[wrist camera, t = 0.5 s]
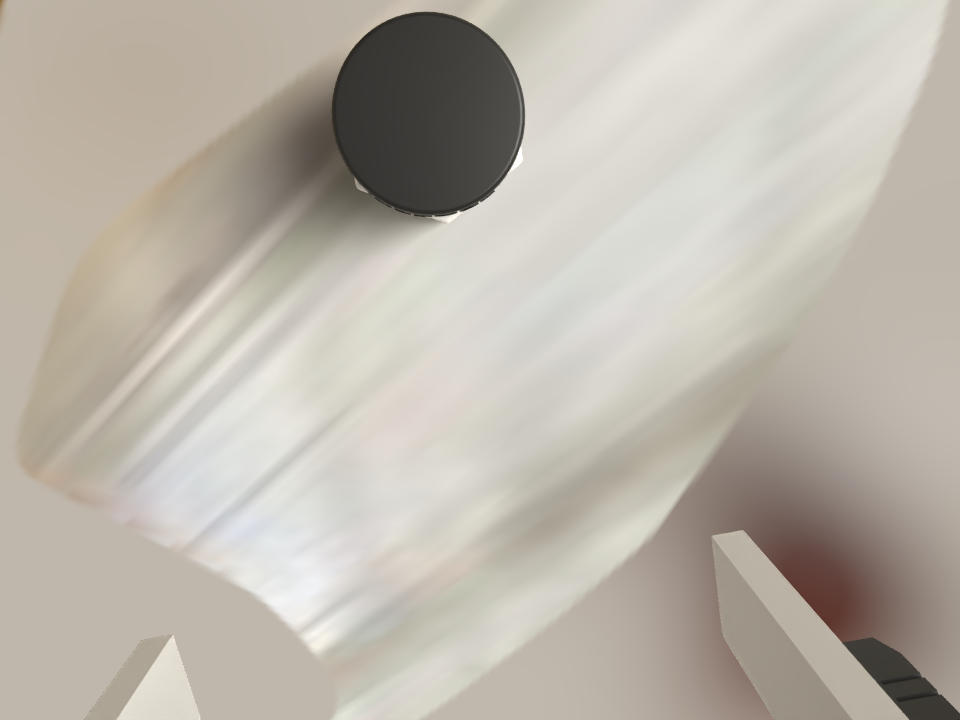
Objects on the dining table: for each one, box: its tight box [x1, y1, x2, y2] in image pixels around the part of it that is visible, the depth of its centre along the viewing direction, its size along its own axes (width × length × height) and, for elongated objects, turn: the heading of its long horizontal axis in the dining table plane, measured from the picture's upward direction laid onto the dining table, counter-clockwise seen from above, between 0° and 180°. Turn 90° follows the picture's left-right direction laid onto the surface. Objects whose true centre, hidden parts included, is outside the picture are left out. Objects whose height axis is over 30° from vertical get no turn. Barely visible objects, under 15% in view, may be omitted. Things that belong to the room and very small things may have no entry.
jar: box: [332, 12, 525, 223], centre depth 34 cm, size 9×8×12 cm
